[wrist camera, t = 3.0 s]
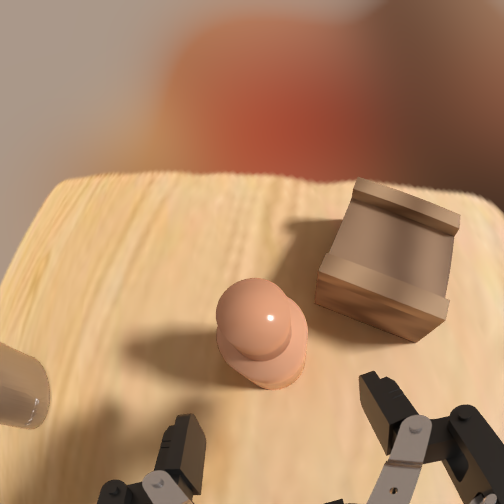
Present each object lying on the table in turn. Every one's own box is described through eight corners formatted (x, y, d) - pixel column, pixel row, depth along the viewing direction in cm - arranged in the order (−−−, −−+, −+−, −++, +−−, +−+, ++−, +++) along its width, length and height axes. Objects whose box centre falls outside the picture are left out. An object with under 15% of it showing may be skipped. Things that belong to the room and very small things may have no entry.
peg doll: (231, 372, 23) (177, 334, 13) (260, 320, 26) (231, 247, 15) (287, 400, 22) (277, 387, 11) (315, 344, 24) (327, 284, 14)
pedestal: (314, 303, 26) (318, 270, 20) (350, 219, 30) (357, 176, 24) (415, 342, 22) (445, 320, 17) (437, 252, 26) (460, 214, 21)
